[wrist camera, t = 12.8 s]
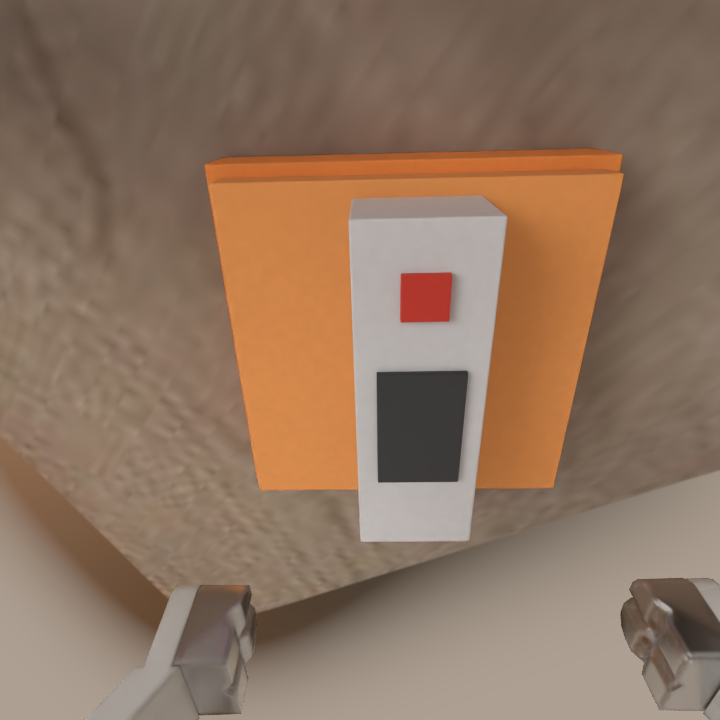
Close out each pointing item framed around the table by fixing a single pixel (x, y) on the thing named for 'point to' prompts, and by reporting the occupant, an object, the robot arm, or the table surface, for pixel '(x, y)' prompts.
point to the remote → (421, 358)
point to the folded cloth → (334, 309)
